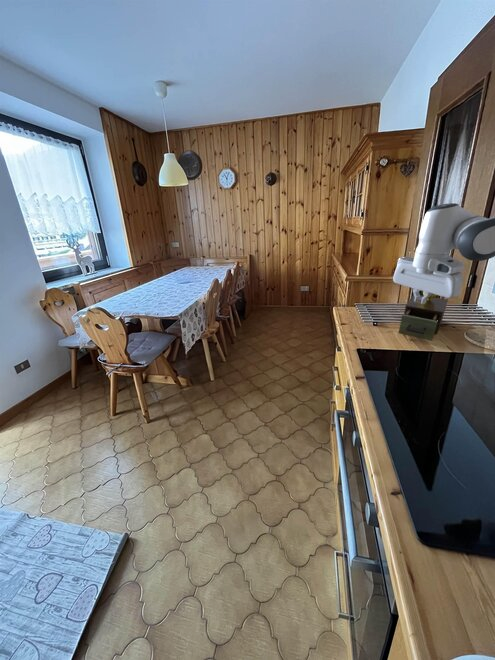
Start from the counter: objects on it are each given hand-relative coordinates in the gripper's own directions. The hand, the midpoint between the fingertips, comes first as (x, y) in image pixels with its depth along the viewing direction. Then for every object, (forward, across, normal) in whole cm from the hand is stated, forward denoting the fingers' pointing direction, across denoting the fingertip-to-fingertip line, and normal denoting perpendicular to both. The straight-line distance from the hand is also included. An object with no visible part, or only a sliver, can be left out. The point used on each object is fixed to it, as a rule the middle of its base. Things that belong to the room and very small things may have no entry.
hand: (419, 302), depth 94 cm
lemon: (+9, -11, +27) cm, 30 cm away
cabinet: (+19, -10, +24) cm, 32 cm away
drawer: (+18, -5, +14) cm, 23 cm away
